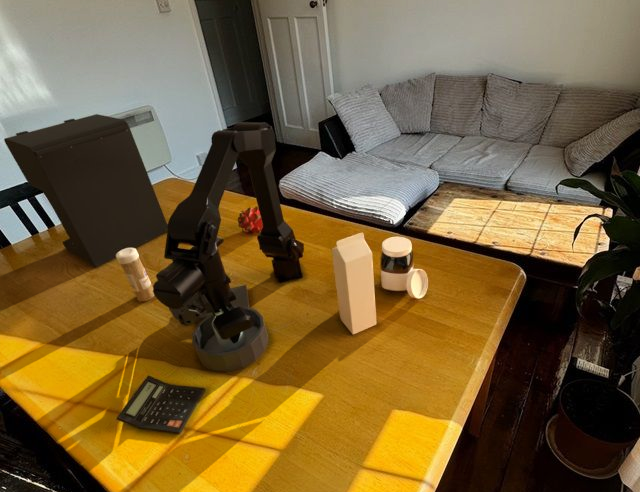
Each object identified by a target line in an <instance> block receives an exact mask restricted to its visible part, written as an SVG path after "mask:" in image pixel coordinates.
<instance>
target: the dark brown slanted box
mask: <svg viewBox="0 0 640 492" xmlns="http://www.w3.org/2000/svg"><path fill="white" fill-rule="evenodd" d="M3 141H4V143H5V145H6V147H7V149H8V150H9V152H10V154H11V156H12V157H13V159H14V161H15V163H16V165H17V166H18V168H19V170H20V171H21V173H22V175H23V176H24V178H25V180H26V181H27V183H28V184H29V185H30V186H31V187H33V188H35V189H37V190H40V191H42V192H43V193H44V195H45V197H46V198H47V200H48V202H49V204H50V206H51V207H52V209H53V211H54V213H55V215H56V216H57V218H58V221H59V222H60V224H61V226H62V228H63V229H64V231H65V232H66V234H67V236H68V239H65V240H63V241H62V244H63V247H64V248H65V251H67V252H68V253H71V254H72V255H74V256H75V257H77V258H79V259H80V260H82V261H84V262H85V263H86V264H89V265H91V266H92V267H94V268H96V269H97V268H99V267H100V266H103V265H104V264H107V263H109V262H110V261H113V260H114V259H117V258H116V254H117V253H118V252H119V251H121V250H123V249H126V248H135V249H136V248H138V247H140V246H143V245H144V244H146V243H149V242H150V241H152V240H154V239H156V238H158V237H160V236H163V235H164V234H167V230H168V229H167V226H168V222H167V220H166V217H165V215H164V212H163V210H162V207H161V205H160V202H159V198H158V197H157V194H156V191H155V189H154V187H153V184H152V182H151V179H150V177H149V174H148V171H147V168H146V166H145V164H144V161H143V158H142V156H141V153H140V151H139V148H138V146H137V143H136V140H135V138H134V136H133V132H132V130H131V128H130V125H129V123H128V122H127V120H126V119H123V118H118V117H113V116H108V115H104V114H103V115H102V114H99V113H95V114H92V115H87V116H84V117H80V118H77V119H75V118H70V119H65V120H63V122H61V123H57V124H54V125H50V126H45V127H42V128H38V129H34V130H31V131H28V130H23V131H19V132H17V133H15V135H13V136H12V135H11V136H7V137H5V138H3Z"/></svg>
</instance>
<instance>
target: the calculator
mask: <svg viewBox="0 0 640 492" xmlns="http://www.w3.org/2000/svg"><path fill="white" fill-rule="evenodd" d="M205 392H206V388H205V387H198V386H189V385H181V384H180V385H178V384H170V383H168V382H165V381H163V380H161V379H159V378H156V377H154V376H151V375H149V374H148V375H146V377H145V378H144V380H143V381H142V382H141V384H140V385H139V386H138V388H137V389H136V390H135V391H134V393H133V395H132V396H131V397H130V398H129V400H128V401H127V403H126V404H125V405H124V407H122V409H121V411H120V412H119V414H117V416H116V419H115V420H116V421H119V422H121V423H124V424H126V425H129V426H131V427H134V428H136V429H139V430H145V431H152V432H161V433H167V434H176V435H181V434H182V431H183V430H184V428H185V427H186V425H187V423H188V422H189V420H190V418H191V416H192V414H193V413H194V411H195V409H196V407H197V406H198V404H199V403H200V400H201V399H202V397H203V396H204V394H205Z"/></svg>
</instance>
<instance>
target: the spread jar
mask: <svg viewBox="0 0 640 492" xmlns="http://www.w3.org/2000/svg"><path fill="white" fill-rule="evenodd" d="M412 245H413V244H412V242H411V240H410V239H408V238H407V237H403V236H392V237H388V238H386V239H384V240H383V241H382V242H381V254H380V258H379V259H380V264H379V266H380V268H379V269H380V285H381V288H382V289H383V290H385V291H387V292H389V293H394V294H400V293H406V292H407V294H408V296H410V297H411V298H412V299H422V298H424V296H425V295H426V294H427V291H428V287H429V278H428V275H427V273H426V271H425V270H424V269H422V268H414V262H415V261H414V259H415V258H414V251H413V248H412V247H413V246H412Z"/></svg>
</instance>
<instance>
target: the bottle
mask: <svg viewBox="0 0 640 492" xmlns="http://www.w3.org/2000/svg"><path fill="white" fill-rule="evenodd" d="M226 307H227V306H226ZM219 310H220V309H219ZM221 314H223V313H222V312H221V310H220V313H218V314H215V317H214V319H213V321H214V320H215V318H216V316H218V315H221ZM213 321H212V327H213V329H214V332H215V335H216V337H217V340H218V343H219V345H220V347H221V349H223V350H225V351H232V350H236V349H238V348H240V347H241V346H242V345H243V344H244V342H245V340H246V338H245V334H244V331H243V332H241V334H240V337H239V341H238V342H236V343H234V344H233V343H232V341H231V340H230V338H229V339H226V340H223V339H221V337H220V336H219V334H218V332H217V331H216V329H215V328H214V326H213V325H214V324H213Z"/></svg>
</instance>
